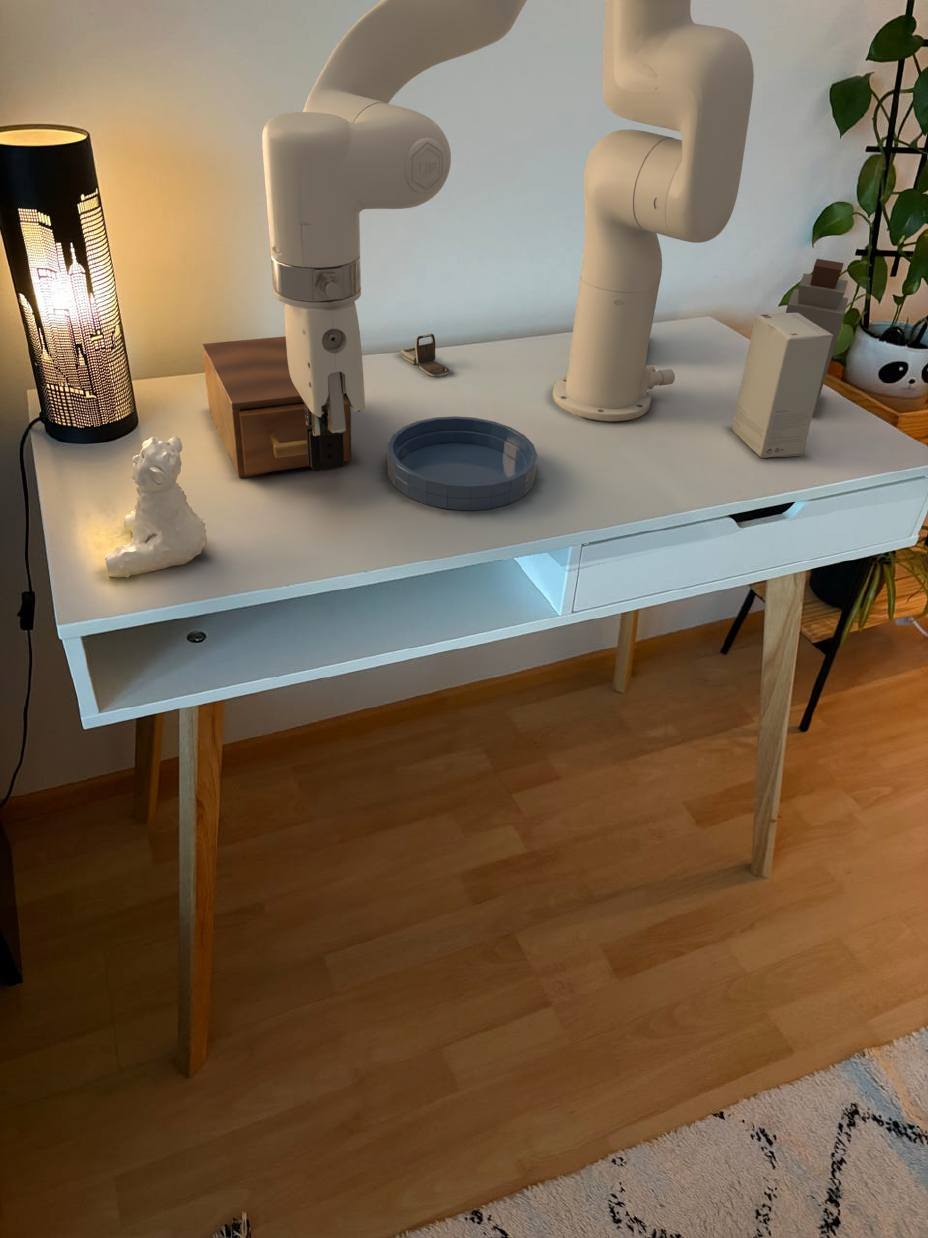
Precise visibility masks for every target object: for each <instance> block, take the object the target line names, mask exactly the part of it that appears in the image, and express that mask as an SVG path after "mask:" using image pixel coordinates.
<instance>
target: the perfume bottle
mask: <svg viewBox="0 0 928 1238" xmlns="http://www.w3.org/2000/svg"><path fill="white" fill-rule="evenodd" d="M843 268H844V262H841V261H833V260H828V259H827V260H826V259H823V258H816V260H815V263H814V265H813V269H812V274H810V273H805V272H804V273H803V275H802V277H801V279H800V282H799V285H798V288H794V289H793V290H792V293H791V296H790V298H789V301H788V303H787V306H786V311H785V313H799V314H801V315H802V316H804V317H805V318H807V319H808V320H810V321H811V322H813V323H814V324H816V325H818V326H819V327H821V328H822V329H824V330H826V331H828V332H829V333H831V334H832V335H833V337H832V340H831V344H830V348H829V352H828V356H827V360H826V364H825V368H824V372H823V376H822V380H821V384H820V388H819V392H818V396H817V400H816V404H815V408H814V412H813V416H812V418H814V416H815V414H816V410H817V407H818V403H819V401H820V397H821V394H822V391H823V387H824V384H825V382H826V381H825V380H826V377H827V374H828V370H829V368H830V363H831V360H832V357H833V354H834V350H835V347H836V344H837V341H838V338H839V335H840V331H841V327H842V324H843V321H844V318H845V314H846V311H847V307H848V303H849V299H850V298H849V297H844V295H845V293H846V290H847V286H848V283H849V280H845V279H840V276H841V274H842V271H843Z"/></svg>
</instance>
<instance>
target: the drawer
mask: <svg viewBox="0 0 928 1238" xmlns="http://www.w3.org/2000/svg"><path fill="white" fill-rule="evenodd" d="M238 413H239V423H240V434H241V445H242V456H243V467H244V471H245V473H246V475H249V474H256V473H263V472H269V473H271V472H276V471H277V470H278V471H285V470H290V469H292V468H293V469H298V468H299V467H300V468H306V466H307V467H311V466H310V464H309V463H308V455H307V439H306V427H311V426H312V425H309V426H308V425H307V423H306V419H305V410H304V404H297V405H288V406H279V407H271V408H262V409H257V408H249V409H240V411H239V412H238ZM344 414H345V424H346V431H344V432H343V445H344V462H350V461H349V412H348V402H347V401H346V399H344ZM300 468H299V469H300ZM293 469H292V470H293ZM270 471H271V472H270ZM278 471H277V472H278Z"/></svg>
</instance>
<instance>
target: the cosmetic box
mask: <svg viewBox="0 0 928 1238" xmlns="http://www.w3.org/2000/svg"><path fill="white" fill-rule="evenodd" d="M750 335H751V336H750V340H749V345H748V350H747V355H746V360H745V365H744V369H743V374H742V379H741V384H740V389H739V393H738V399H737V403H736V408H735V411H734V418H733V421H732V422H733V423H732V427H731V431H732V432H733V433H734V434H735V435H736V436H738V437H739V439H740V440H742V441H743V443H745V444H746V445H747V446H748V447H749V448H750V449H751V450H752V451H753V452H755V454H757V455H758V457H760V458H764V459H765V458H767V459H768V458H774V457H775V458H777V457H780V458H781V457H783V458H785V457H787V458H788V457H801V456H802V455H803V453H804V451H805V447H806V444H807V439H808V435H809V432H810V427H811V425H812V421H813V417H812V416H813V412H814V408H815V404H816V400H817V396H818V392H819V388H820V384H821V380H822V376H823V372H824V368H825V364H826V360H827V356H828V352H829V348H830V344H831V340H832V337H833V335H832V334H831V333H829V332H828V331H826V330H824V329H822V328H821V327H819V326H818V325H816V324H814V323H813V322H811V321H810V320H808V319H807V318H805V317H804V316H802V315H801V314H799V313H786V312H784V313H782V312H781V313H769V314H768V313H766V314H756V315H755V316H754V321H753V325H752V331H751V334H750Z"/></svg>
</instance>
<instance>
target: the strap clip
mask: <svg viewBox="0 0 928 1238" xmlns="http://www.w3.org/2000/svg"><path fill="white" fill-rule="evenodd" d="M425 338H430V342H428V343H424V344H420V340H421V339H425ZM400 357H402V359H403V360H404V361H407V362H409V363H410V364H411V365H419V369H420V370H421V371H422V372H423V373H425V374H426V375H428V376H432V377H438V376H443V375H447V374H449V373H450V369H449V368H448V367H447V366H445V365H443V364H442V363H439V362H438V361H435V360H436V338H435V334H433V333H428V334H427V333H426V334H423V335H418V336H416V338H415V343H414V347H409V348H404V349H401V350H400Z"/></svg>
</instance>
